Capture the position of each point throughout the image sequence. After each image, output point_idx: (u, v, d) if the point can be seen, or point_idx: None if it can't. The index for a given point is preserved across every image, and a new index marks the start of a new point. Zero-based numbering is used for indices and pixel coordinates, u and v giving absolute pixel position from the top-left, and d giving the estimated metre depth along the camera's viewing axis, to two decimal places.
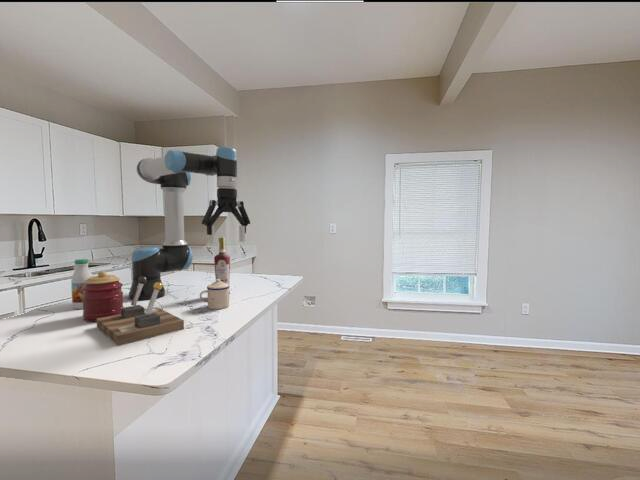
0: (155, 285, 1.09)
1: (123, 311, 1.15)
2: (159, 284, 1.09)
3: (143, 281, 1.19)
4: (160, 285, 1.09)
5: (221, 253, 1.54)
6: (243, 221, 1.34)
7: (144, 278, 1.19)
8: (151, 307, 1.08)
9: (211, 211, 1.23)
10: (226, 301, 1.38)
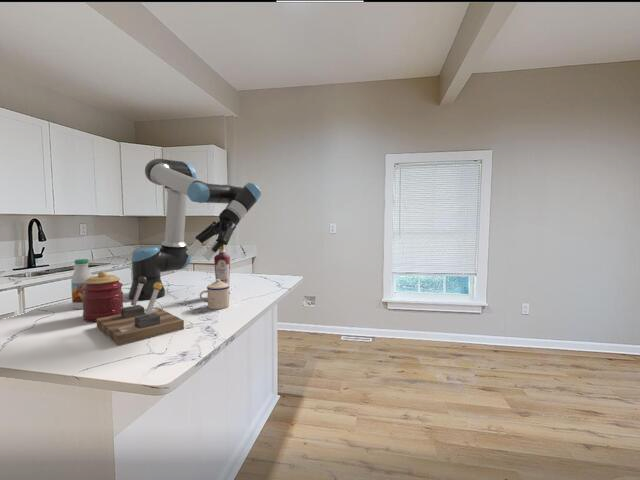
0: (155, 285, 1.09)
1: (123, 311, 1.15)
2: (159, 284, 1.09)
3: (143, 281, 1.19)
4: (160, 285, 1.09)
5: (221, 253, 1.54)
6: None
7: (144, 278, 1.19)
8: (151, 307, 1.08)
9: None
10: (226, 301, 1.38)
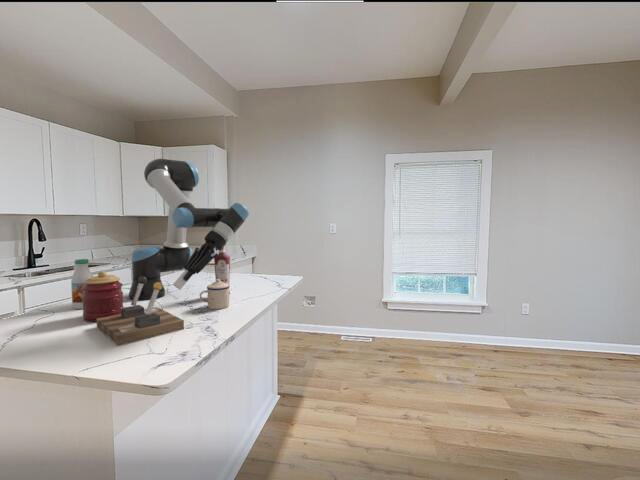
0: (155, 285, 1.09)
1: (123, 311, 1.15)
2: (159, 284, 1.09)
3: (143, 281, 1.19)
4: (160, 285, 1.09)
5: (221, 253, 1.54)
6: None
7: (144, 278, 1.19)
8: (151, 307, 1.08)
9: None
10: (226, 301, 1.38)
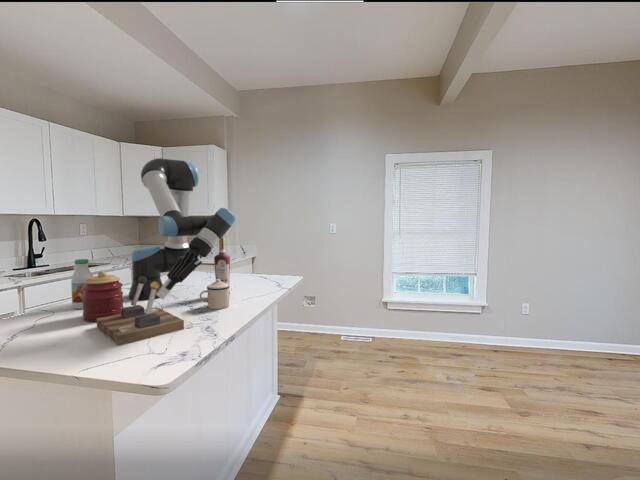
0: (152, 285, 1.08)
1: (123, 311, 1.15)
2: (156, 283, 1.09)
3: (143, 281, 1.19)
4: (157, 284, 1.09)
5: (221, 253, 1.54)
6: None
7: (144, 278, 1.19)
8: (150, 307, 1.08)
9: None
10: (226, 301, 1.38)
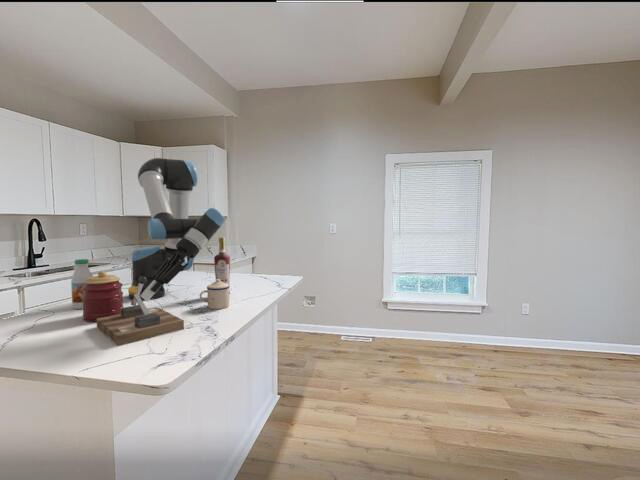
0: (130, 292, 1.03)
1: (123, 311, 1.15)
2: (132, 288, 1.03)
3: (143, 281, 1.19)
4: (134, 289, 1.04)
5: (221, 253, 1.54)
6: None
7: (144, 278, 1.19)
8: (144, 308, 1.07)
9: None
10: (226, 301, 1.38)
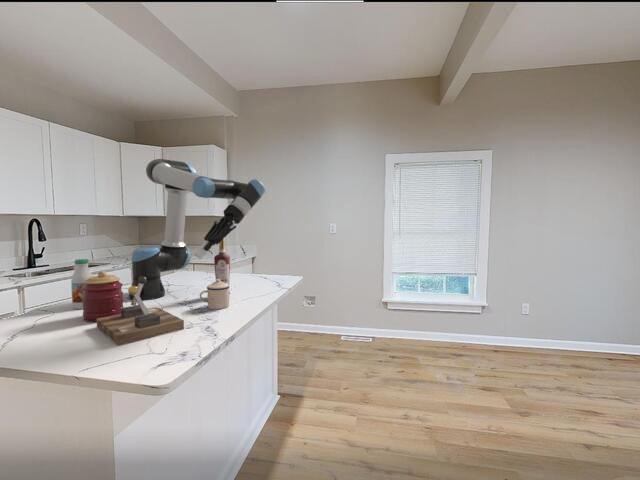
0: (130, 292, 1.03)
1: (123, 311, 1.15)
2: (132, 288, 1.03)
3: (143, 281, 1.19)
4: (134, 289, 1.04)
5: (221, 253, 1.54)
6: None
7: (144, 278, 1.19)
8: (144, 308, 1.07)
9: None
10: (226, 301, 1.38)
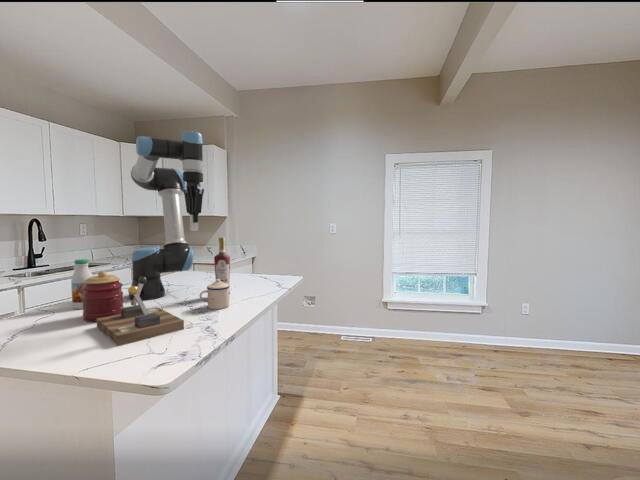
0: (130, 292, 1.03)
1: (123, 311, 1.15)
2: (132, 288, 1.03)
3: (143, 281, 1.19)
4: (134, 289, 1.04)
5: (221, 253, 1.54)
6: None
7: (144, 278, 1.19)
8: (144, 308, 1.07)
9: None
10: (226, 301, 1.38)
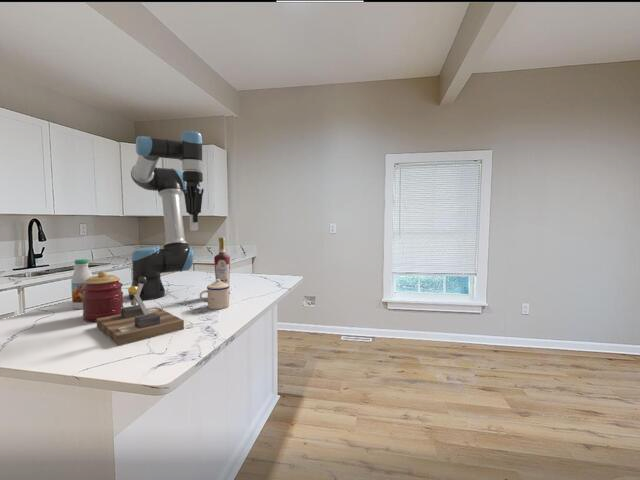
0: (130, 292, 1.03)
1: (123, 311, 1.15)
2: (132, 288, 1.03)
3: (143, 281, 1.19)
4: (134, 289, 1.04)
5: (221, 253, 1.54)
6: None
7: (144, 278, 1.19)
8: (144, 308, 1.07)
9: None
10: (226, 301, 1.38)
